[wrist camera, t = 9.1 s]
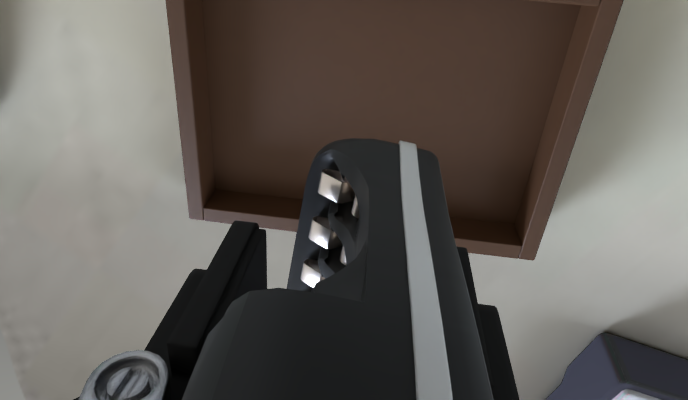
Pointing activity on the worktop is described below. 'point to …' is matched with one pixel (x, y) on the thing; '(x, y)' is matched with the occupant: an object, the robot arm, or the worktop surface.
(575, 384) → the calculator
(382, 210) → the battery charger
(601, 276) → the worktop surface
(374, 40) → the tray
